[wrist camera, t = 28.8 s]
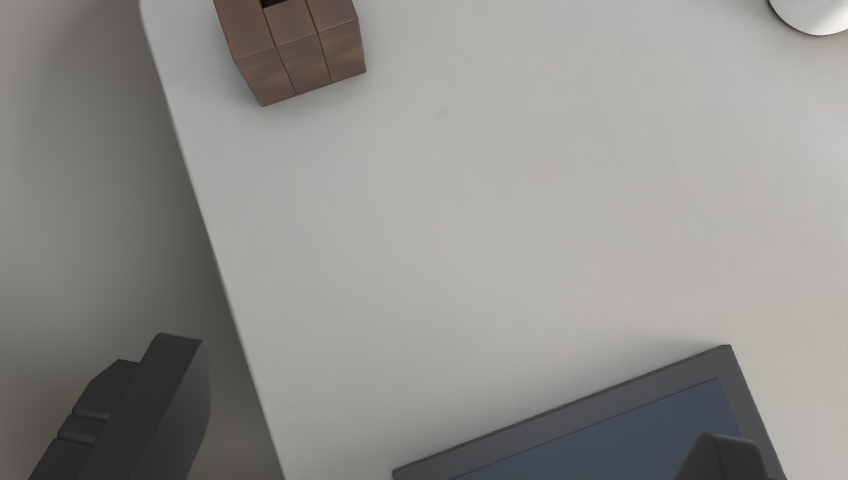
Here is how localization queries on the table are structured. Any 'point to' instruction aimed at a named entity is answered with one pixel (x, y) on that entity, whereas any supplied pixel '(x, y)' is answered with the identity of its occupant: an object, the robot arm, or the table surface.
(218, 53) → the table surface
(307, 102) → the table surface
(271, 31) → the pen holder
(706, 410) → the tablet
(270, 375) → the table surface
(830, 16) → the can
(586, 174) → the table surface
